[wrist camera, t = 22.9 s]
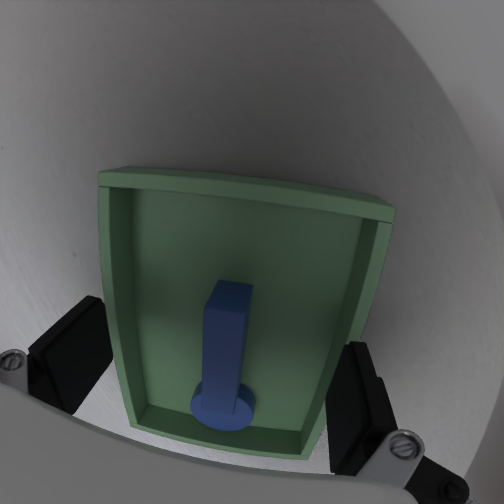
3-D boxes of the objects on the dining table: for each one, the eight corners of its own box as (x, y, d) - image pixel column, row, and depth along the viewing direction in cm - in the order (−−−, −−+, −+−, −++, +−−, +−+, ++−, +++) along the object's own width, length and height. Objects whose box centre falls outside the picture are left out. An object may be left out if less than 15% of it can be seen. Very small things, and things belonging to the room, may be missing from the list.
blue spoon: (196, 275, 14) (177, 302, 11) (276, 287, 13) (273, 318, 11) (195, 410, 17) (184, 441, 14) (252, 421, 16) (246, 453, 14)
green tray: (126, 166, 13) (97, 171, 10) (378, 196, 12) (397, 207, 10) (143, 402, 18) (130, 426, 16) (307, 432, 17) (307, 460, 15)
